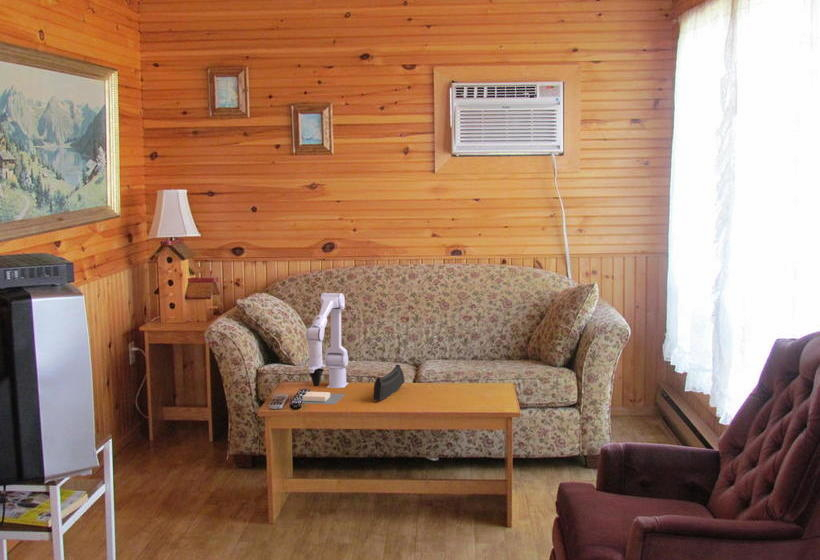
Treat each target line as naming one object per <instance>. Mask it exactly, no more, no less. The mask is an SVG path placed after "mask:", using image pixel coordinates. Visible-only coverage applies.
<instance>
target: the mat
mask: <svg viewBox="0 0 820 560" xmlns="http://www.w3.org/2000/svg"><path fill="white" fill-rule="evenodd" d="M345 395H346V393H330V398H329V399H328V400H327V401H326V402H303V403H302V404H310V405H311V404H312V405H334V406H335V405H336V404H337V403H338V402H339V401H340V400H342V399H343V398H344V396H345ZM289 404H292V403H291V401H290V402H289Z"/></svg>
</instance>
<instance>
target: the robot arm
mask: <svg viewBox="0 0 820 560" xmlns="http://www.w3.org/2000/svg"><path fill="white" fill-rule="evenodd" d="M345 300H346V299H345V296H344V294H343V292H340V293H337V292H334V293H333V292H322V293H321V295H320V299H319V302H320V310H319V313H318V315H315V316H314V319H313V321H312V323H311V326H310V327H309V328H307V329H306V332H305V334H306V335H305V337H306V340H307V341H306V342H307V345H308V374H309V376H310V378H311V382H312V385H313V387H320V384H321V377H322V375H323V372H324V368H325V367H327V368H328V381H329V382H328V385H327V386H326V388H329V389H330V388H333V389H334V388H335V389H344V388H346V386H348V385H349V382H347V369H346V367H347V366H348V364H349V355H348V354H349V352H348V350H347V349H346V348H345V347H344V346H342V311H344V310H345V307H346V304H345ZM329 315H330V347H328V348H327V349H326V350H325V356H324V362H323V340H324V337H325V328H326V326H327V324H328V317H329Z"/></svg>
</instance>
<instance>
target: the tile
mask: <svg viewBox="0 0 820 560" xmlns="http://www.w3.org/2000/svg"><path fill="white" fill-rule="evenodd" d="M305 393H306V394H305V395H303V401H304V402H326V401H327V400H328V399H329V398H330V394H331V392H330V391H329V392H327V391H307V392H305Z"/></svg>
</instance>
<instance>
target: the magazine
mask: <svg viewBox="0 0 820 560" xmlns="http://www.w3.org/2000/svg"><path fill="white" fill-rule="evenodd" d="M404 383H405V376H404V371H403V369H402V368H401V364H396V365H395V367H394V368H393V369H392V370H391V371H390V372H389V373H388V374H386V375H385V376H383V377H376V378H375V382H374V384H373V393H372V394H373V395H372V400H373V401H382V400H385V399H388V398H389V397H388V396H390V395H391V394H392V393H394V392H395V393H397V391H398V390H399V388H401V387H402V385H403V384H404ZM395 393H394V394H395ZM391 396H392V395H391ZM391 396H390V397H391ZM387 397H388V398H387Z"/></svg>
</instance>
